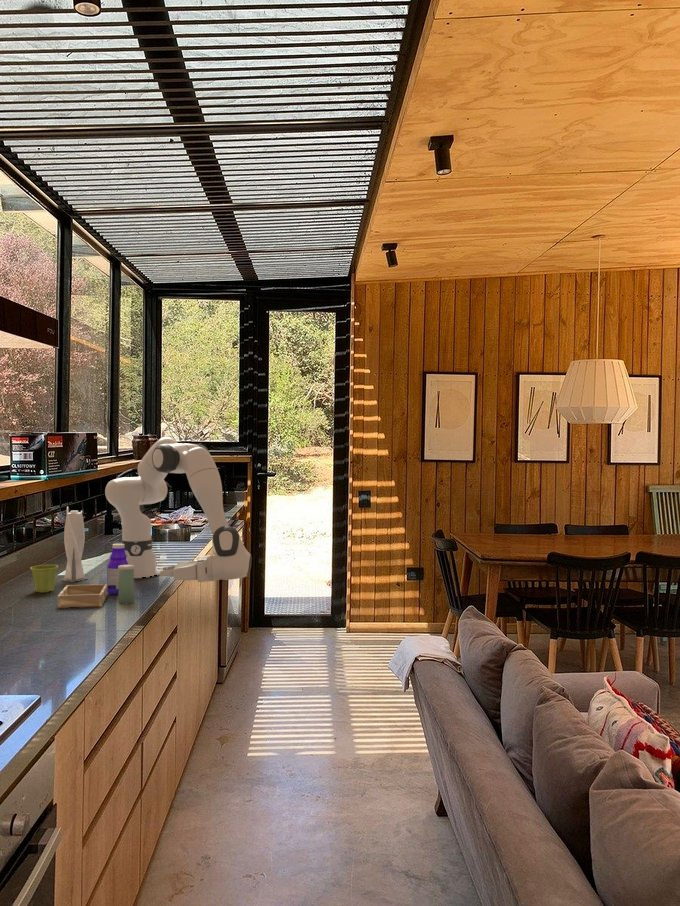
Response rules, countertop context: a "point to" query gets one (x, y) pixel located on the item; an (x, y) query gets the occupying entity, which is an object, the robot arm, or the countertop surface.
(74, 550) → the skyscraper
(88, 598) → the crate
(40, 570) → the plant pot
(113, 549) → the bottle
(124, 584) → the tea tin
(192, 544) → the countertop surface
